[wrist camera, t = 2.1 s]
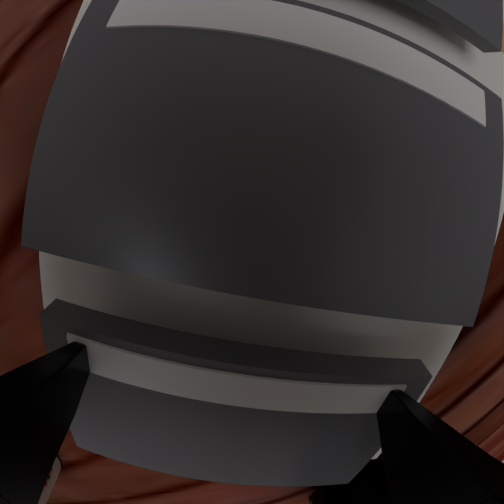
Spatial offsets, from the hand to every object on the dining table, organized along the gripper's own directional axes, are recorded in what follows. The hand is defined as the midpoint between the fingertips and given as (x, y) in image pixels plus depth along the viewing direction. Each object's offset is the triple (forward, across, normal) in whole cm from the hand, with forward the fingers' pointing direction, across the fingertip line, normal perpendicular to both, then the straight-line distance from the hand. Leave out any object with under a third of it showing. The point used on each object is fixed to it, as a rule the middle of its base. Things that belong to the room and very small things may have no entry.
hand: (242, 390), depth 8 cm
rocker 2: (+1, 0, +2) cm, 3 cm away
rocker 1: (+1, 0, -6) cm, 7 cm away
